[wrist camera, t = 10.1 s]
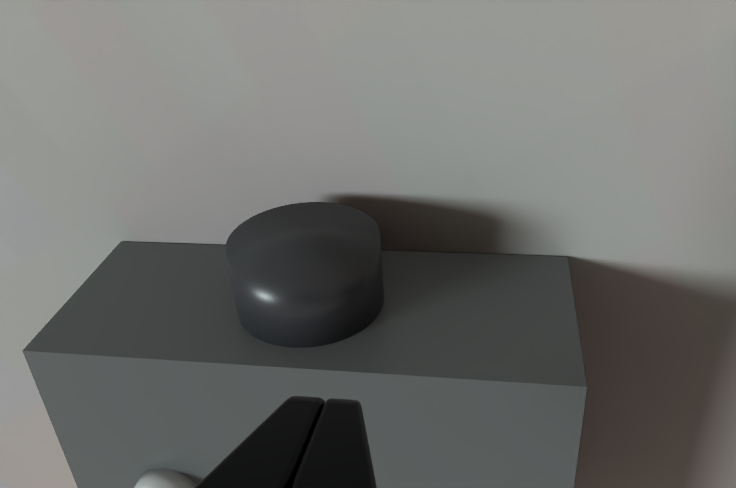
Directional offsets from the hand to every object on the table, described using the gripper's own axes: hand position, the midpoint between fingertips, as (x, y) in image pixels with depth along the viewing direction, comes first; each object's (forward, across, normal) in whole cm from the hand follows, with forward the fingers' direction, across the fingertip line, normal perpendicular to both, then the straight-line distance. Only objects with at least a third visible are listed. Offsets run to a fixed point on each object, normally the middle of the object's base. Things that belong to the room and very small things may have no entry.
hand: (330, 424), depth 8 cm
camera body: (+12, +3, +10) cm, 16 cm away
